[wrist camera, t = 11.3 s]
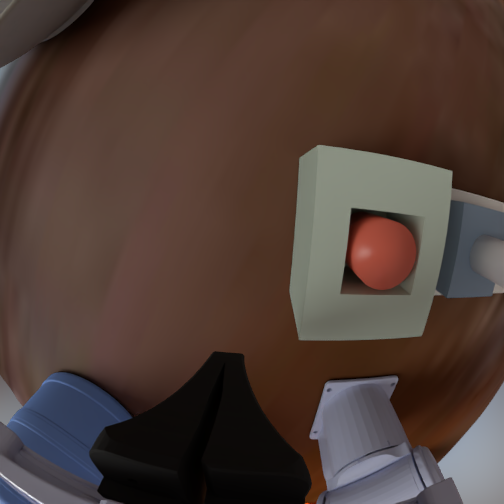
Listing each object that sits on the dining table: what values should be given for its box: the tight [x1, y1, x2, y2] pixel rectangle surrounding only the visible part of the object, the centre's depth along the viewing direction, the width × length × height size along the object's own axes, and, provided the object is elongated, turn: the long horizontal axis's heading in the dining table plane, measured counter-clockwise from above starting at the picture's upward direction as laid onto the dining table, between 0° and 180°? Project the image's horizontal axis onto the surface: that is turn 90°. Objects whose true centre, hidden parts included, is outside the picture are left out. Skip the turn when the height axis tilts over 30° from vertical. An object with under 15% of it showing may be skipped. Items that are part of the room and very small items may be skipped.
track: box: [289, 145, 504, 340], centre depth 16 cm, size 10×30×7 cm, turn 87°
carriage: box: [435, 200, 504, 298], centre depth 14 cm, size 7×6×6 cm
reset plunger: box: [345, 212, 416, 290], centre depth 14 cm, size 4×4×4 cm
